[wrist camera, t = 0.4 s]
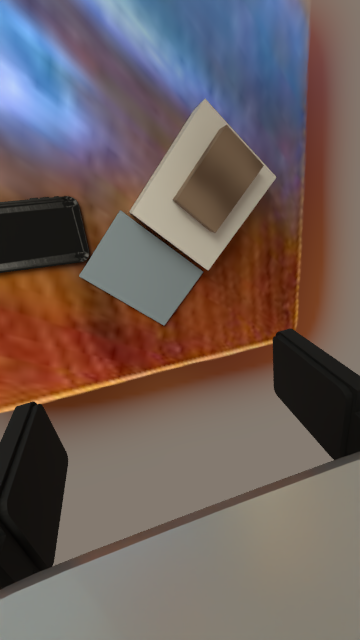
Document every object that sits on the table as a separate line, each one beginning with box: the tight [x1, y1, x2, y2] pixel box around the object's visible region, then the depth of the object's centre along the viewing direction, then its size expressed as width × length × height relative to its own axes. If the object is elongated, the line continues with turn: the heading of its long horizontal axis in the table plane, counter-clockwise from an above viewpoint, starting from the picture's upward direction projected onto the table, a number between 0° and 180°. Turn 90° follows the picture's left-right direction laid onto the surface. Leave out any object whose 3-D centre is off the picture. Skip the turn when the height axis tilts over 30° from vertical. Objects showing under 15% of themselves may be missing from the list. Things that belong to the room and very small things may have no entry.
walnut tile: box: [173, 125, 264, 233], centre depth 31 cm, size 9×6×2 cm, turn 143°
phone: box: [0, 196, 89, 273], centre depth 33 cm, size 8×1×15 cm
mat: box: [79, 211, 203, 325], centre depth 38 cm, size 10×14×1 cm
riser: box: [129, 99, 276, 270], centre depth 34 cm, size 14×12×4 cm
